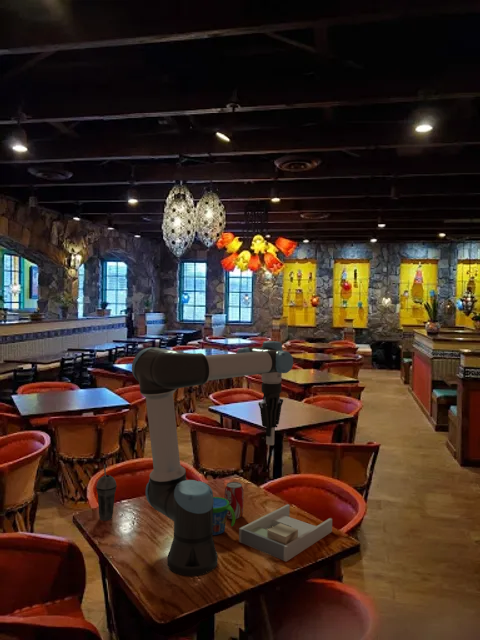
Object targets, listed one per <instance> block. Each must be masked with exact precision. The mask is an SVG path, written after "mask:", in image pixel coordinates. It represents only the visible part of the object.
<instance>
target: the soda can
mask: <svg viewBox="0 0 480 640" xmlns="http://www.w3.org/2000/svg"><path fill="white" fill-rule="evenodd" d="M224 498H225V499H227V500H228V501H229V505H230V506H231V507H232V508H233V510H234V513H235V520H238V519H240V518H241V517H243V513H244V488H243V484H242V483H241V482H238V481H230V482H227V483H226V486H225V488H224ZM227 519H229V520H232V516H231V512H230V511H228V512H227Z"/></svg>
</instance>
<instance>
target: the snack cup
mask: <svg viewBox="0 0 480 640" xmlns="http://www.w3.org/2000/svg"><path fill="white" fill-rule="evenodd" d="M213 500H214V504H213V526H212V536H217V535H221V534H223V533H224V532H225V530H226V524H227V519H228V518H227V512H228V511H230V512H231V516H232V519H231V523H230V526H231V527H233V526H234V525H235V523H236V519H235V513H234V510H233V508H232V507H231V506H230V505H229V501H228V500H227V499H225V497H220V496H213Z"/></svg>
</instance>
